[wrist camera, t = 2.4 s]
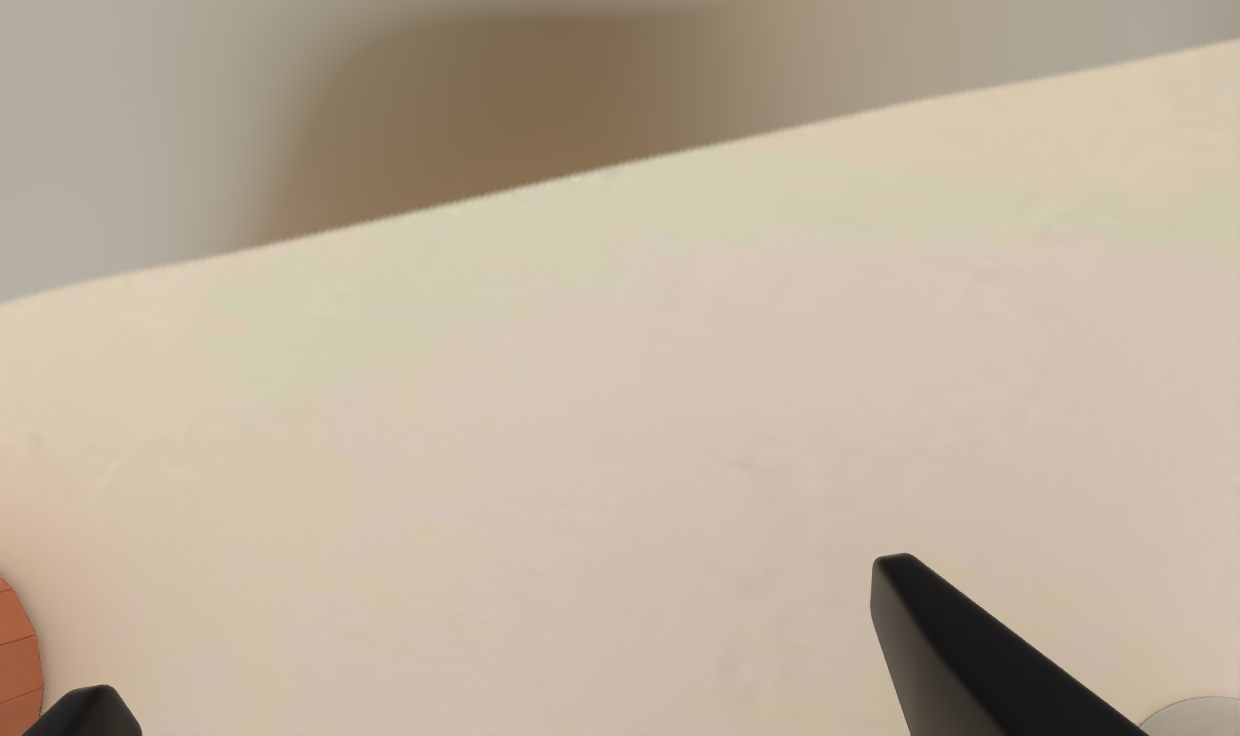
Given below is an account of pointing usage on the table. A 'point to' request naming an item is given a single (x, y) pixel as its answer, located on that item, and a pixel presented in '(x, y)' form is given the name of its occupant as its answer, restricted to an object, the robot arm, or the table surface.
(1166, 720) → the coffee cup
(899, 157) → the table surface
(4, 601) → the bowl
